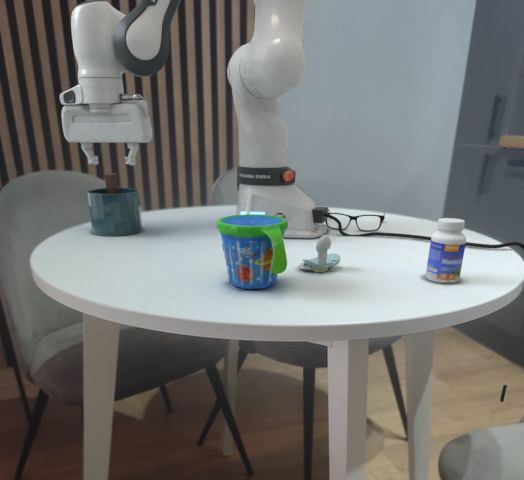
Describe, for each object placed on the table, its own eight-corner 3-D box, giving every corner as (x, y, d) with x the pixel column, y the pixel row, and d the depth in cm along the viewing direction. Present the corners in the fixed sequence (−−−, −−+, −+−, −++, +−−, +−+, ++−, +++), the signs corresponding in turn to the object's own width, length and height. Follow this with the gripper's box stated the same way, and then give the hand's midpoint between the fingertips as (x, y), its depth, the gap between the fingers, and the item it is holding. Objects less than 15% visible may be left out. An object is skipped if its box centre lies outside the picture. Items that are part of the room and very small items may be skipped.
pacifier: (290, 269, 88) (315, 276, 83) (291, 234, 85) (316, 238, 81) (319, 262, 92) (344, 268, 88) (320, 228, 90) (346, 233, 85)
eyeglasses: (322, 229, 119) (323, 212, 117) (328, 219, 132) (329, 203, 130) (382, 233, 116) (384, 215, 114) (383, 221, 129) (385, 206, 127)
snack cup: (204, 274, 84) (202, 213, 80) (260, 267, 88) (261, 209, 84) (242, 303, 71) (241, 231, 67) (305, 293, 75) (308, 225, 71)
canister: (151, 228, 119) (147, 189, 115) (125, 237, 109) (120, 195, 106) (110, 224, 122) (106, 186, 118) (82, 233, 112) (76, 192, 109)
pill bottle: (440, 285, 80) (450, 224, 75) (418, 276, 84) (426, 218, 80) (466, 281, 82) (477, 221, 77) (443, 273, 86) (452, 216, 82)
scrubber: (130, 227, 117) (124, 173, 112) (119, 230, 113) (113, 175, 108) (114, 226, 118) (107, 172, 113) (103, 229, 114) (96, 174, 109)
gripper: (154, 94, 103) (160, 164, 109) (71, 96, 109) (82, 163, 115) (138, 93, 98) (146, 167, 104) (52, 95, 104) (64, 165, 110)
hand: (112, 165), depth 110 cm, fingers open, 8 cm apart
